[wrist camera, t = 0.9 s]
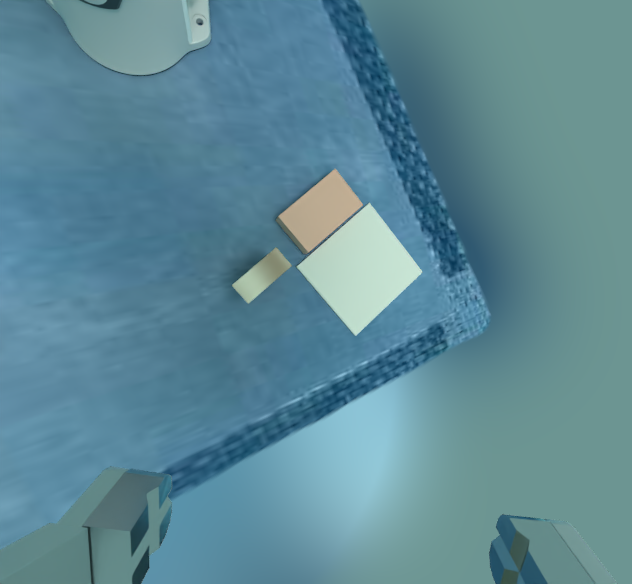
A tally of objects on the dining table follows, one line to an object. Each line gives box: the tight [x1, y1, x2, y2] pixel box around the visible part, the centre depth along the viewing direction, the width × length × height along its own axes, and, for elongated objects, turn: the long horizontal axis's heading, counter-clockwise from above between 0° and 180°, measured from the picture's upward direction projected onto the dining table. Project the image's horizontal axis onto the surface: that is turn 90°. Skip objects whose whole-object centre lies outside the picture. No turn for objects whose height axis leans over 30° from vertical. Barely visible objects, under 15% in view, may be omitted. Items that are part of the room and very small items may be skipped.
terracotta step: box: [276, 169, 363, 254], centre depth 46 cm, size 10×6×3 cm, turn 131°
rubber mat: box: [296, 203, 422, 336], centre depth 49 cm, size 14×13×1 cm
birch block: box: [232, 248, 292, 304], centre depth 40 cm, size 6×2×11 cm, turn 131°
